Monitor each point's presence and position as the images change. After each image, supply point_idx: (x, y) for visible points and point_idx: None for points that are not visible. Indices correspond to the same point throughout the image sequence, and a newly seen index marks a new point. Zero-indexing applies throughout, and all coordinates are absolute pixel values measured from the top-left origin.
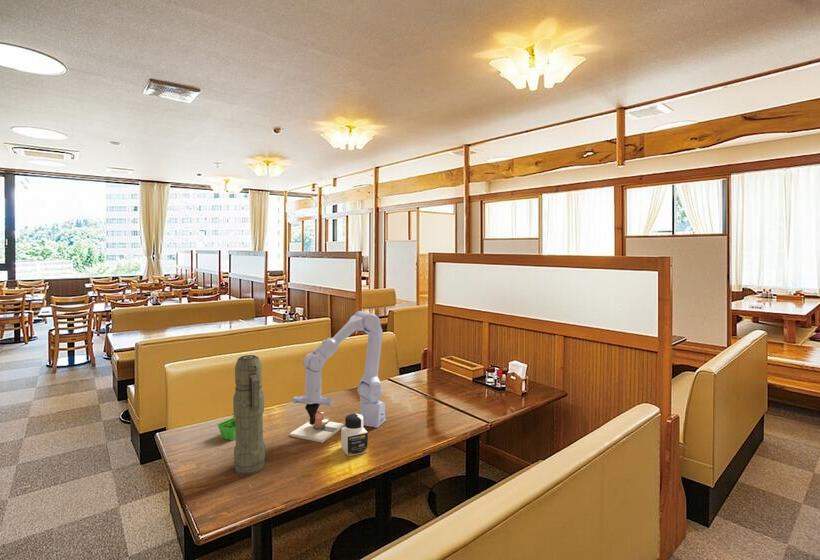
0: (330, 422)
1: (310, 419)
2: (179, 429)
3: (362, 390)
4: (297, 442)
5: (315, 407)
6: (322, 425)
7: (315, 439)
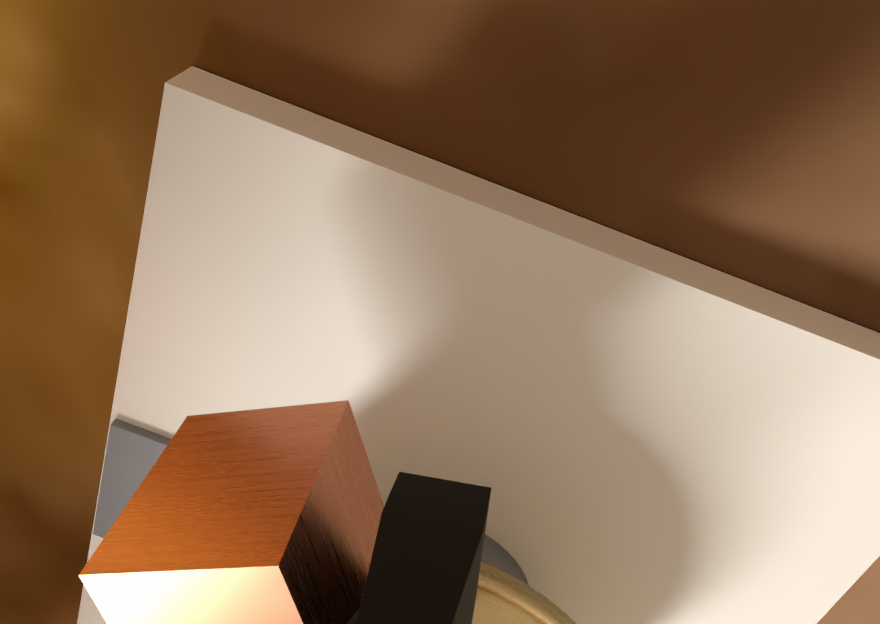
0: None
1: (446, 582)
2: None
3: None
4: (771, 65)
5: None
6: None
7: (353, 144)
